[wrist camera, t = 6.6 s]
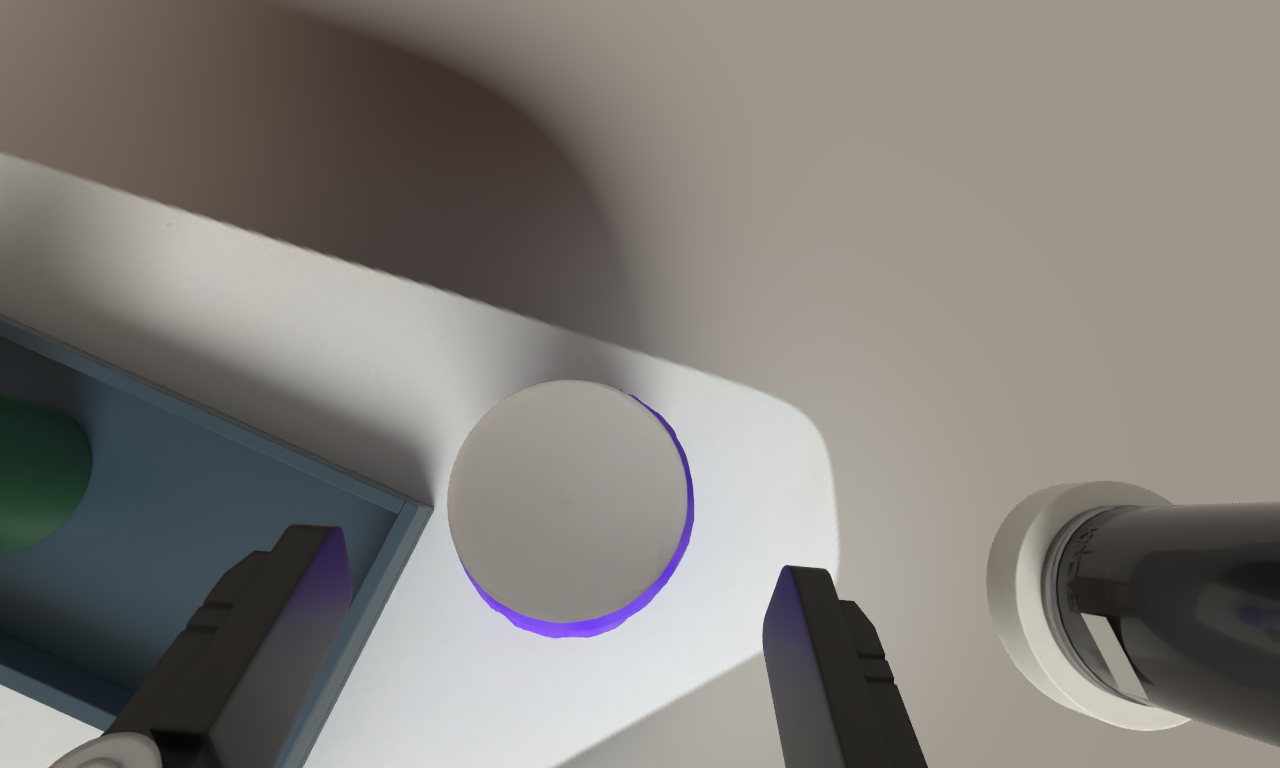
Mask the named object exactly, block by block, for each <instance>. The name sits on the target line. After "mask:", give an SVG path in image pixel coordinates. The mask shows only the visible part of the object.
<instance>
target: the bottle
mask: <svg viewBox="0 0 1280 768" xmlns="http://www.w3.org/2000/svg"><path fill="white" fill-rule="evenodd" d="M447 507H448V520H449V526H450V531H451V535H452V539H453V542H454V545H455V548H456V551H457V553H458V556H459V559H460V561H461V563H462V565H463V567H464V570H465V572H466V574H467V576H468V577H469V579H470V580H471V582H472V583H473V585H474V586H475V588H476V589H477V591H478V593H479V594H480V595H481V597H482V598H483V599H484V600H485V601H486V602H487V603H488V604H489V606H490V607H491V608H492V609H494V610H495V611H497V612H500V613H501V614H503V615H505V616H506V617H507V618H508V619H509V620H510V621H511V622H512V623H513V624H514V625H515V626H516V627H519V628H522V629H524V630H527V631H531V632H534V633H537V634H540V635H543V636H546V637H551V638H561V637H592V636H596V635H599V634H601V633H604V632H607V631H610V630H612V629H615V628H616V627H618V626H619V625H620V624H622V623H623V622H624V621H625V620H626V619H627V618H628V617H630V616H632V615H633V614H635V613H637V612H638V611H640V610H641V609H642V608H644V607H645V606H646V605H647V604H648V603H649V602H650V601H651V600H652V599H653V598H654V596H655V595H656V594H657V593H658V592H659V591H660V590H661V589H662V587H663V586H664V585H665V584H666V583H667V582H668V580H669V579H670V577H671V576H672V574H673V573H674V571H675V569H676V568H677V566H678V564H679V562H680V560H681V558H682V557H683V555H684V552H685V550H686V548H687V546H688V544H689V540H690V536H691V531H692V527H693V522H694V496H693V485H692V479H691V475H690V470H689V465H688V461H687V457H686V454H685V452H684V450H683V448H682V446H681V444H680V442H679V441H678V439H677V437H676V434H675V432H674V430H673V429H672V427H671V426H670V425H669V424H668V423H667V422H666V421H665V419H664V418H663V417H662V416H661V415H660V414H659V413H657V412H656V411H654V410H653V409H651V408H650V407H648V406H647V405H645V404H644V403H642V402H641V401H640V400H639V399H638V398H636V397H635V396H633V395H630V394H626V393H624V392H623V391H621V390H618V389H615V388H612V387H610V386H607V385H605V384H600V383H596V382H591V381H581V380H557V381H550V382H543V383H540V384H537V385H534V386H531V387H528V388H526V389H523V390H521V391H519V392H517V393H515V394H513V395H511V396H509V397H507V398H506V399H504V400H503V401H501V402H500V403H499V404H497V405H496V406H494V407H493V408H492V409H491V410H490V411H489V412H488V413H487V414H485V415H484V416H483V417H482V418H481V420H480V421H479V422H478V423H477V424H476V426H475V427H474V428H473V429H472V430H471V432H470V433H469V434H468V436H467V438H466V440H465V441H464V443H463V445H462V446H461V448H460V450H459V453H458V455H457V457H456V460H455V462H454V465H453V469H452V472H451V476H450V481H449V487H448V502H447Z"/></svg>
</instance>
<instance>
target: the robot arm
mask: <svg viewBox="0 0 1280 768" xmlns="http://www.w3.org/2000/svg"><path fill="white" fill-rule="evenodd" d="M352 590H353V584H352V577H351V572H350V566H349V560H348V555H347V549H346V544H345V538H344V533H343V530H342V528H341V527H339V526H332V525H321V524H310V523H299V522H295V523H292V524H291V525H290V526H288V527H287V529H286V530H285V531H284V533H283V534H282V536H281V537H280V539H279V540H278V541H277V543H276V544H275V546H274V547H273V549H272V550H271V552H268V551H257V550H254V551H253V552H252V553H250V554H249V555H248V556H246V557H245V558H244V559H242V560H241V561H240V562H238V563H237V564H236V565H234V566H233V567H232V568H230V569H229V570H228V571H226V572H225V573H224V574H223V575H222V577H221V578H220V580H219V581H218V582H217V584H216V585H215V586H214V588H213V589H212V590H211V592H210V593H209V594H208V596H207V597H206V598H205V600H204V601H203V602H204V603H203V606H202V607H199V608H198V609H197V610H196V612H195V613H194V614H193V616H192V617H191V619H190V620H189V621H188V623H187V624H186V628H185V630H184V631H181V632H180V633H179V635H178V636H177V637H176V639H175V640H174V641H173V643H172V644H171V645H170V647H169V648H168V649H167V651H166V652H165V653H164V655H163V656H162V657H161V659H160V660H159V662H158V663H157V664H156V666H155V667H154V668H153V670H152V671H151V672H150V674H149V675H148V676H147V678H146V679H145V680H144V682H143V683H142V684H141V686H140V687H139V688H138V690H137V691H136V692H135V694H134V695H133V696H132V698H131V699H130V701H129V702H128V703H127V705H126V706H125V707H124V709H123V710H122V711H121V713H120V714H119V715H118V717H117V718H116V719H115V721H114V722H113V723H112V724H111V725H110V727H109V728H108V729H107V730H106V731H105V732H104V733H103V734H102V735H101V736H100V737H99V738H96V739H93V740H91V741H88V742H86V743H84V744H82V745H80V746H78V747H77V748H75V749H73V750H72V751H70V752H68V753H67V754H65V755H64V756H63V757H61V758H60V759H59V760H57V761H56V762H54V763H53V764H52V765H51V766H50V767H49V768H273V766H274V764H275V762H276V760H277V758H278V756H279V754H280V752H281V750H282V748H283V746H284V744H285V742H286V740H287V738H288V736H289V734H290V731H291V729H292V727H293V725H294V723H295V721H296V719H297V717H298V715H299V713H300V711H301V709H302V707H303V705H304V703H305V701H306V699H307V697H308V695H309V693H310V690H311V688H312V686H313V684H314V682H315V680H316V678H317V676H318V674H319V672H320V670H321V668H322V666H323V664H324V662H325V660H326V658H327V656H328V654H329V652H330V649H331V647H332V645H333V643H334V641H335V639H336V637H337V635H338V633H339V631H340V629H341V627H342V625H343V623H344V621H345V619H346V616H347V613H348V611H349V607H350V603H351V598H352ZM1041 597H1042V604H1043V610H1044V614H1045V618H1046V621H1047V624H1048V627H1049V629H1050V632H1051V634H1052V636H1053V638H1054V640H1055V642H1056V644H1057V646H1058V648H1059V649H1060V651H1061V652H1062V654H1063V655H1064V657H1065V658H1066V659H1067V660H1068V662H1069V663H1070V664H1071V665H1072V667H1073V668H1074V669H1075V670H1076V671H1077V672H1078V673H1079V674H1080V675H1081V676H1083V677H1084V678H1085V679H1086V680H1087V681H1089V682H1090V683H1091V684H1092V685H1094V686H1095V687H1097V688H1099V689H1100V690H1102V691H1104V692H1106V693H1108V694H1110V695H1112V696H1115V697H1117V698H1120V699H1123V700H1126V701H1129V702H1133V703H1136V704H1139V705H1143V706H1149V707H1155V708H1159V709H1162V710H1165V711H1168V712H1171V713H1174V714H1177V715H1181V716H1184V717H1187V718H1190V719H1193V720H1195V721H1198V722H1201V723H1204V724H1208V725H1211V726H1214V727H1217V728H1220V729H1224V730H1227V731H1230V732H1233V733H1236V734H1239V735H1243V736H1246V737H1249V738H1252V739H1255V740H1258V741H1262V742H1265V743H1268V744H1271V745H1274V746H1277V747H1280V502H1257V503H1229V504H1201V505H1166V506H1137V505H1111V506H1100V507H1096V508H1092V509H1089V510H1086V511H1084V512H1082V513H1080V514H1078V515H1076V516H1075V517H1073V518H1072V519H1070V520H1069V521H1068V522H1067V523H1066V524H1065V525H1064V526H1063V527H1062V528H1061V529H1060V530H1059V531H1058V533H1057V534H1056V535H1055V537H1054V538H1053V540H1052V542H1051V544H1050V546H1049V548H1048V550H1047V553H1046V556H1045V559H1044V562H1043V568H1042V574H1041ZM763 651H764V656H765V662H766V667H767V672H768V677H769V682H770V687H771V693H772V698H773V703H774V709H775V714H776V719H777V724H778V729H779V735H780V740H781V745H782V750H783V756H784V761H785V766H786V768H928V766H927V764H926V761H925V759H924V756H923V753H922V751H921V748H920V745H919V743H918V740H917V737H916V735H915V732H914V729H913V727H912V724H911V722H910V719H909V716H908V714H907V711H906V708H905V706H904V703H903V700H902V698H901V695H900V693H899V690H898V687H897V685H895V684H894V677H893V674H892V671H891V669H890V666H889V664H888V661H886V660H885V653H884V650H883V648H882V645H881V642H880V640H879V637H878V635H877V632H876V629H875V627H874V625H873V624H872V623H871V622H870V621H869V619H868V618H867V617H866V615H865V614H864V613H863V612H862V611H861V609H860V608H859V607H858V605H857V604H856V603H855V602H854V601H846V600H839V599H838V596H837V593H836V590H835V587H834V584H833V581H832V578H831V576H830V574H829V572H828V571H827V570H826V569H822V568H811V567H800V566H789V565H786V566H784V567H783V569H782V570H781V573H780V576H779V578H778V581H777V584H776V587H775V589H774V592H773V595H772V598H771V601H770V603H769V606H768V609H767V612H766V614H765V618H764V623H763Z"/></svg>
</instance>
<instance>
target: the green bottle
mask: <svg viewBox="0 0 1280 768" xmlns="http://www.w3.org/2000/svg"><path fill="white" fill-rule="evenodd" d="M91 463H92V457H91V450H90V445H89V442H88V439H87V437H86V435H85V432H84V430H83V429H82V428H81V426H80V425H79V423H78V422H77V421H76V420H75V419H74V418H73V417H72V416H71V415H70V414H68V413H67V412H66V411H64V410H63V409H61V408H59V407H57V406H55V405H53V404H50V403H47V402H44V401H40V400H36V399H31V398H27V397H23V396H18V395H14V394H9V393H5V392H1V391H0V556H3V555H9V554H12V553H16V552H19V551H22V550H24V549H26V548H29V547H31V546H33V545H35V544H37V543H39V542H40V541H42V540H44V539H45V538H47V537H48V536H49V535H51V534H52V533H54V532H55V531H56V530H57V529H58V528H59V527H61V526H62V525H63V524H64V523H65V521H66V520H67V519H68V518H69V517H70V516H71V515H72V513H73V512H74V511H75V509H76V508H77V506H78V505H79V503H80V501H81V499H82V498H83V496H84V493H85V491H86V489H87V486H88V482H89V479H90V474H91Z"/></svg>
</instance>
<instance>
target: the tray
mask: <svg viewBox="0 0 1280 768" xmlns="http://www.w3.org/2000/svg"><path fill="white" fill-rule="evenodd" d="M0 391H1V392H5V393H9V394H14V395H18V396H23V397H27V398H31V399H36V400H40V401H44V402H47V403H50V404H53V405H55V406H57V407H59V408H61V409H63V410H64V411H66V412H67V413H68V414H70V415H71V416H72V417H73V418H74V419H75V420H76V421H77V422H78V423H79V425H80V426H81V428H82V429H83V430H84V432H85V435H86V437H87V439H88V442H89V445H90V450H91V457H92V463H91V474H90V479H89V482H88V486H87V489H86V491H85V493H84V496H83V498H82V499H81V501H80V503H79V505H78V506H77V508H76V509H75V511H74V512H73V513H72V515H71V516H70V517H69V518H68V519H67V520H66V521H65V523H64V524H63V525H62V526H61V527H59V528H58V529H57V530H56V531H55V532H54V533H52V534H51V535H49V536H48V537H47V538H45V539H44V540H42V541H40V542H39V543H37V544H35V545H33V546H31V547H29V548H26V549H24V550H22V551H19V552H16V553H12V554H9V555H3V556H0V684H1V685H3V686H5V687H7V688H10V689H12V690H14V691H16V692H18V693H20V694H23V695H25V696H27V697H29V698H31V699H34V700H36V701H38V702H40V703H42V704H45V705H47V706H49V707H51V708H53V709H56V710H58V711H60V712H62V713H64V714H67V715H69V716H71V717H73V718H75V719H78V720H80V721H82V722H84V723H86V724H89V725H91V726H93V727H95V728H97V729H99V730H102V731H104V732H105V731H106V730H107V729H108V728H109V727H110V725H111V724H112V723H113V722H114V721H115V719H116V718H117V717H118V715H119V714H120V713H121V711H122V710H123V709H124V707H125V706H126V705H127V703H128V702H129V701H130V699H131V698H132V696H133V695H134V694H135V692H136V691H137V690H138V688H139V687H140V686H141V684H142V683H143V682H144V680H145V679H146V678H147V676H148V675H149V674H150V672H151V671H152V670H153V668H154V667H155V666H156V664H157V663H158V662H159V660H160V659H161V657H162V656H163V655H164V653H165V652H166V651H167V649H168V648H169V647H170V645H171V644H172V643H173V641H174V640H175V639H176V637H177V636H178V635H179V633H180V632H181V631H184V630H185V628H186V624H187V623H188V621H189V620H190V619H191V617H192V616H193V614H194V613H195V612H196V610H197V609H198V608H199V607H202V606H203V603H204V602H203V601H204V600H205V598H206V597H207V596H208V594H209V593H210V592H211V590H212V589H213V588H214V586H215V585H216V584H217V582H218V581H219V580H220V578H221V577H222V575H223V574H224V573H225V572H226V571H228V570H229V569H230V568H232V567H233V566H234V565H236V564H237V563H238V562H240V561H241V560H242V559H244V558H245V557H246V556H248V555H249V554H250V553H252V552H253V551H254V550H257V551H268V552H271V550H272V549H273V547H274V546H275V544H276V543H277V541H278V540H279V539H280V537H281V536H282V534H283V533H284V531H285V530H286V529H287V527H288V526H290V525H291V524H292V523H295V522H299V523H310V524H321V525H332V526H339V527H341V528H342V530H343V533H344V538H345V544H346V549H347V555H348V560H349V566H350V572H351V577H352V584H353V590H352V598H351V603H350V607H349V611H348V613H347V616H346V619H345V621H344V623H343V625H342V627H341V629H340V631H339V633H338V635H337V637H336V639H335V641H334V643H333V645H332V647H331V649H330V652H329V654H328V656H327V658H326V660H325V662H324V664H323V666H322V668H321V670H320V672H319V674H318V676H317V678H316V680H315V682H314V684H313V686H312V688H311V690H310V693H309V695H308V697H307V699H306V701H305V703H304V705H303V707H302V709H301V711H300V713H299V715H298V717H297V719H296V721H295V723H294V725H293V727H292V729H291V731H290V734H289V736H288V738H287V740H286V742H285V744H284V746H283V748H282V750H281V752H280V754H279V756H278V758H277V760H276V762H275V764H274V766H273V768H302V767H303V765H304V763H305V762H306V760H307V758H308V756H309V754H310V752H311V750H312V748H313V746H314V744H315V742H316V740H317V738H318V736H319V734H320V732H321V730H322V728H323V726H324V724H325V722H326V720H327V718H328V716H329V714H330V713H331V711H332V709H333V707H334V705H335V703H336V701H337V699H338V697H339V695H340V693H341V691H342V689H343V687H344V685H345V683H346V681H347V679H348V677H349V675H350V673H351V671H352V669H353V667H354V665H355V663H356V662H357V660H358V658H359V656H360V654H361V652H362V650H363V648H364V646H365V644H366V642H367V640H368V638H369V636H370V634H371V632H372V630H373V628H374V626H375V624H376V622H377V620H378V618H379V616H380V614H381V613H382V611H383V609H384V607H385V605H386V603H387V601H388V599H389V597H390V595H391V593H392V591H393V589H394V587H395V585H396V583H397V581H398V579H399V577H400V575H401V573H402V571H403V569H404V567H405V565H406V564H407V562H408V560H409V558H410V556H411V554H412V552H413V550H414V548H415V546H416V544H417V542H418V540H419V538H420V536H421V534H422V532H423V530H424V528H425V526H426V524H427V522H428V520H429V518H430V516H431V514H432V513H433V511H434V508H433V507H431V506H429V505H427V504H424V503H422V502H420V501H418V500H415V499H413V498H411V497H409V496H406V495H404V494H402V493H400V492H397V491H395V490H393V489H391V488H389V487H386V486H384V485H382V484H380V483H377V482H375V481H373V480H371V479H368V478H366V477H364V476H362V475H359V474H357V473H355V472H353V471H350V470H348V469H346V468H344V467H342V466H339V465H337V464H335V463H333V462H330V461H328V460H326V459H324V458H321V457H319V456H317V455H315V454H312V453H310V452H308V451H306V450H303V449H301V448H299V447H297V446H295V445H292V444H290V443H288V442H286V441H283V440H281V439H279V438H277V437H274V436H272V435H270V434H268V433H265V432H263V431H261V430H259V429H256V428H254V427H252V426H250V425H248V424H245V423H243V422H241V421H239V420H236V419H234V418H232V417H230V416H227V415H225V414H223V413H221V412H218V411H216V410H214V409H212V408H209V407H207V406H205V405H203V404H201V403H198V402H196V401H194V400H192V399H189V398H187V397H185V396H183V395H180V394H178V393H176V392H174V391H171V390H169V389H167V388H165V387H162V386H160V385H158V384H156V383H154V382H151V381H149V380H147V379H145V378H142V377H140V376H138V375H136V374H133V373H131V372H129V371H127V370H124V369H122V368H120V367H118V366H116V365H113V364H111V363H109V362H107V361H104V360H102V359H100V358H98V357H95V356H93V355H91V354H89V353H86V352H84V351H82V350H80V349H77V348H75V347H73V346H71V345H69V344H66V343H64V342H62V341H60V340H57V339H55V338H53V337H51V336H48V335H46V334H44V333H42V332H39V331H37V330H35V329H33V328H30V327H28V326H26V325H24V324H22V323H19V322H17V321H15V320H13V319H10V318H8V317H6V316H4V315H1V314H0Z"/></svg>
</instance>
